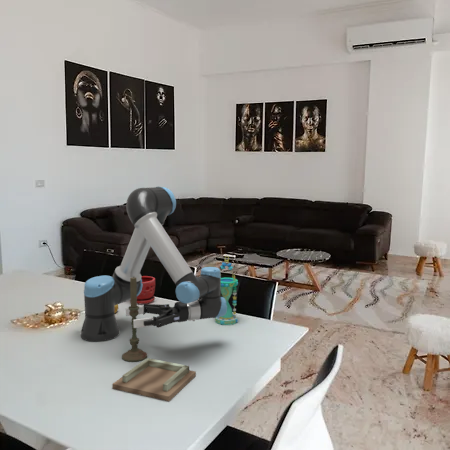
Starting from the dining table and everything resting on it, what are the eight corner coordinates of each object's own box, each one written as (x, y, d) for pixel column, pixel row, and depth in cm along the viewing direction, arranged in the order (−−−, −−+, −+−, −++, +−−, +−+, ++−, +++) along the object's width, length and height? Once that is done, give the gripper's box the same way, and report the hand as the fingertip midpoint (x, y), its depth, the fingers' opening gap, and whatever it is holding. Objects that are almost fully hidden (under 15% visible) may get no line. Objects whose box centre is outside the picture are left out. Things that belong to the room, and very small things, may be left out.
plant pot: (142, 296, 242) (142, 274, 241) (160, 300, 234) (160, 278, 233) (123, 302, 232) (123, 279, 230) (142, 307, 224) (141, 283, 222)
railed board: (112, 388, 142) (112, 377, 141) (143, 365, 158) (143, 355, 158) (169, 401, 134) (169, 390, 134) (195, 375, 151) (195, 365, 150)
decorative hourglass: (210, 323, 202) (210, 256, 198) (219, 316, 212) (220, 252, 208) (233, 326, 197) (234, 258, 194) (242, 319, 207) (242, 254, 204)
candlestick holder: (141, 363, 160) (140, 279, 156) (117, 360, 162) (115, 278, 158) (151, 352, 169) (150, 273, 165) (128, 350, 171) (126, 272, 167)
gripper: (197, 331, 160) (137, 340, 152) (176, 310, 183) (123, 317, 175) (197, 311, 159) (137, 318, 151) (176, 292, 182) (122, 298, 174)
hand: (129, 317), depth 163 cm, fingers open, 13 cm apart
